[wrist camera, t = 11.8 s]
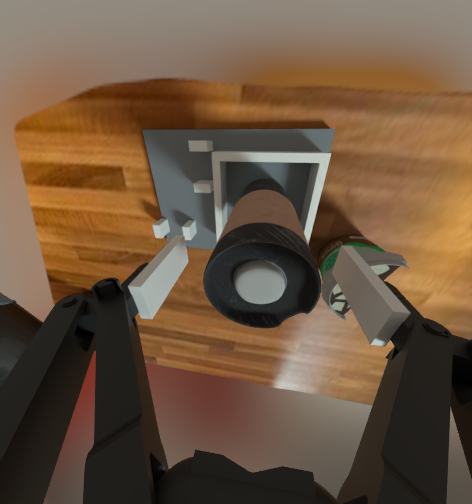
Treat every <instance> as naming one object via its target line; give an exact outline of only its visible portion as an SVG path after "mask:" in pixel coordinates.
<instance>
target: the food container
mask: <svg viewBox="0 0 472 504" xmlns="http://www.w3.org/2000/svg"><path fill="white" fill-rule="evenodd" d="M341 245H344V246H352V247H353V248H354V249H355V250H356V252H357V253H358V254H359V255H360V256H361V257H362V258H363V260H364V261H365V262H366V263H367V264H368V265H369V266H370V267H371V269H372V270H373V271H374V272H375V273H376V274H377V275H378V277H379V278H380V279H381V280H382V281H384V280H385V279H386V278H387V277H388V276H389V275H390V274H391V273H393V272H394V271H395V270H396V269H397V268H398V267H400V266H402V267H405V268H409V267H408V266H407V265H406V264H407V262H406V261H405V259H404V258H403V256H402V255H399V254H395V253H390V252H386V251H384V250H383V249H381V248H380V247H378V246H377V245H375V244H374V243H372V242H371V241H369V240H368V239H366V238H365V237H362V236H359V235H344V236H339V237H337V238H335V239H332V240H330V241H329V242H328V243H326V244H325V245H324V246H323V247H322V249H321V250H320V252H319V254H318V265H319V268H320V272H321V276H322V280H323V284H322V296H323V299H324V301H325V302H326V304H327V305H328V306H329V308H330V309H331V310H332V311H333V312H334V313H335V314H336V315H337V316H338V317H340V318H342V319H344V320H346V319H345V316H344V314H345V313H347V312H348V310H349V309H350V308H351V307H350V306H349V304H348V302H347V300H346V298H345V296H344V294H343V293H342V291H341V289H340V287H339V285H338V283H337V281H336V280H335V278H334V276H333V274H332V270H333V268H334V265H335V262H336V259H337V256H338V254H339V251H340V248H341Z"/></svg>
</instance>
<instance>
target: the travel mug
mask: <svg viewBox="0 0 472 504" xmlns="http://www.w3.org/2000/svg"><path fill="white" fill-rule="evenodd" d="M203 284H204V290H205V293H206V296H207V298H208V300H209V301H210V303H211V304H212V306H213V307H214V308H215V309H216V310H217V311H218V312H220V313H221V314H222V315H224V316H225V317H226V318H228V319H230V320H232V321H234V322H236V323H239V324H242V325H245V326H249V327H255V328H275V327H278V326H280V325H281V323H282V322H283V321H284V320H286V319H288V318H290V317H292V316H294V315H296V314H299V313H306V314H308V313H310V312H311V311H312V310H313V309H314V307H315V306H316V304H317V302H318V300H319V297H320V293H321V279H320V275H319V271H318V268H317V266H316V263H315V261H314V258H313V255H312V253H311V250H310V248H309V245H308V242H307V240H306V237H305V235H304V232H303V230H302V227H301V224H300V222H299V219H298V217H297V214H296V211H295V209H294V207H293V205H292V203H291V201H290V199H289V197H288V196H287V194H286V192H285V190H284V189H283V187H282V186H281V185H280V184H279V183H277V182H276V181H274V180H271V179H259V180H256V181H254V182H252V183H250V184H249V185H248V186H247V187H246V189H245V190H244V191H243V193H242V195H241V196H240V198H239V199H238V201H237V203H236V204H235V206H234V208H233V210H232V212H231V214H230V216H229V218H228V221H227V223H226V225H225V227H224V229H223V231H222V233H221V236H220V238H219V240H218V242H217V244H216V246H215V248H214V251H213V253H212V255H211V257H210V259H209V261H208V263H207V266H206V269H205V272H204V278H203Z"/></svg>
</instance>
